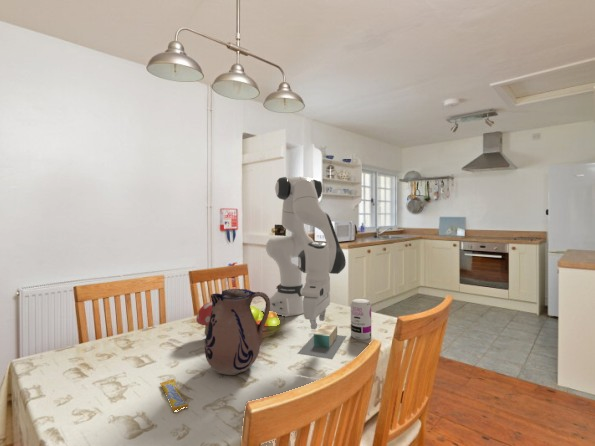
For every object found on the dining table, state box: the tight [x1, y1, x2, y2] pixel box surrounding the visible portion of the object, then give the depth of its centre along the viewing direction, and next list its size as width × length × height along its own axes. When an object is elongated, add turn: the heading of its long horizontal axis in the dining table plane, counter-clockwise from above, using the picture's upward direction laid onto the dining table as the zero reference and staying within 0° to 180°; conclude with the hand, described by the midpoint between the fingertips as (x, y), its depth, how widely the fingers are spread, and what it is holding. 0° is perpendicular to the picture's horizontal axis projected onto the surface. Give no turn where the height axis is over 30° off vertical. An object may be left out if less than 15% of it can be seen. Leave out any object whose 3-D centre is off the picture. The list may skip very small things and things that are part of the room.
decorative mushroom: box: [195, 301, 212, 336], centre depth 131 cm, size 13×13×15 cm
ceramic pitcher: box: [204, 288, 270, 376], centre depth 105 cm, size 18×21×25 cm
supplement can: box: [350, 298, 372, 341], centre depth 130 cm, size 8×8×15 cm
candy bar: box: [159, 378, 189, 412], centre depth 89 cm, size 17×4×2 cm, turn 33°
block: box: [313, 323, 338, 348], centre depth 126 cm, size 6×4×12 cm
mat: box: [296, 334, 347, 360], centre depth 123 cm, size 13×22×1 cm, turn 158°
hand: (318, 324), depth 117 cm, fingers open, 8 cm apart
